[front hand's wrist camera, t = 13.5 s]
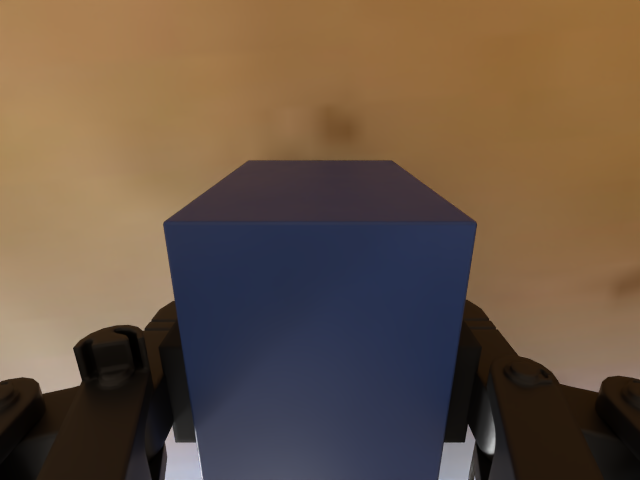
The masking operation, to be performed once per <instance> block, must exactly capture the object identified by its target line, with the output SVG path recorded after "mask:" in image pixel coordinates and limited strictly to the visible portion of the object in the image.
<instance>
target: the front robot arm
mask: <svg viewBox="0 0 640 480" xmlns="http://www.w3.org/2000/svg"><path fill="white" fill-rule="evenodd" d="M73 349H74V353H75V357H76V360H77V364H78V367H79V371H80V375H81V378H82V382H81V385H80V386H77V387H73V388H68V389H64V390H59V391H54V392H50V393H45V394H42V392H41V389H40V386H39V383H38V382H36V381H35V380H34V379H31V378H23V377H22V378H15V379H8V380H4V381H1V382H0V480H164V479H165V471H166V463H167V452H166V446H165V440H166V438H167V436H168V434H169V431H170V429H171V427H172V425H173V431H174V436H175V442H196V437H195V430H194V423H193V417H192V410H191V404H190V397H189V391H188V384H187V377H186V371H185V364H184V358H183V351H182V344H181V338H180V331H179V325H178V318H177V312H176V305H175V301H172V302H171V303H169V304H168V305H166V306H165V307H163V308H162V309H160V310H159V311H158V312H157V314H156V315H155V316H154V317H153V319H152V321H151V322H150V323H149V324H148V325H147V326H146V328H145V331H142V330H141V329H140V328H138V327H135V326H131V325H117V326H112V327H108V328H103V329H101V330H98V331H96V332H93V333H91V334H89V335H88V336H86V337H85V338H83V339H81V340H80V341H79V342H78V343H77V344H76V345H75V347H74V348H73ZM468 425H469V427H470V429H471V431H472V433H473V435H474V437H475V440H476V441H475V446H474V451H473V456H472V461H471V467H470V472H469V479H468V480H474V476H475V478H476V480H640V380H639V379H635V378H630V377H623V376H613V377H608V378H606V379H605V380H604V381H603V382H602V384H601V387H600V390H599V393H598V392H594V391H589V390H584V389H579V388H575V387H570V386H566V385H562V384H559V382H558V380H557V379H556V377H555V376H554V375H553V373H552V372H551V371H549V370H548V369H547V368H545V367H544V366H543V365H541V364H539V363H537V362H535V361H533V360H531V359H528V358H524V357H520V356H518V355H517V353H516V352H515V351H514V350H513V348H512V347H511V346H510V345H509V343H508V342H507V341H506V339H505V338H504V337H503V336H502V334H501V333H500V332H499V331H498V329H496V327H495V326H494V324H493V323H492V322H491V321H489V318H488V317H487V316H486V314H485V313H484V312H483V311H482V309H481V308H479V307H478V306H476V305H475V304H473V303H472V302H470V301H468V300H465V306H464V313H463V319H462V326H461V333H460V339H459V346H458V352H457V359H456V365H455V372H454V378H453V385H452V392H451V398H450V405H449V411H448V418H447V424H446V431H445V437H444V442H465V438H466V432H467V427H468Z"/></svg>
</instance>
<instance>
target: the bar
mask: <svg viewBox="0 0 640 480" xmlns="http://www.w3.org/2000/svg"><path fill="white" fill-rule="evenodd" d="M163 226H164V233H165V239H166V246H167V252H168V259H169V266H170V272H171V279H172V285H173V292H174V298H175V305H176V312H177V318H178V325H179V331H180V338H181V344H182V351H183V358H184V364H185V371H186V377H187V384H188V391H189V397H190V404H191V410H192V417H193V423H194V430H195V437H196V443H197V450H198V456H199V463H200V469H201V476H202V480H438V477H439V470H440V464H441V457H442V451H443V444H444V437H445V431H446V424H447V418H448V411H449V405H450V398H451V392H452V385H453V378H454V372H455V365H456V359H457V352H458V346H459V339H460V333H461V326H462V319H463V313H464V306H465V300H466V293H467V287H468V280H469V273H470V267H471V260H472V254H473V247H474V241H475V234H476V228H477V223H476V221H474V220H473V219H471V218H470V217H469V216H467V215H466V214H465V213H463V212H462V211H460V210H459V209H458V208H456V207H455V206H454V205H452V204H451V203H449V202H448V201H447V200H445V199H444V198H443V197H441V196H440V195H438V194H437V193H436V192H434V191H433V190H432V189H430V188H429V187H427V186H426V185H425V184H423V183H422V182H421V181H419V180H418V179H416V178H415V177H414V176H412V175H411V174H410V173H408V172H407V171H405V170H404V169H403V168H401V167H400V166H399V165H397V164H396V163H395V162H393V161H247V162H246V163H245V164H243V165H242V166H240V167H239V168H238V169H236V170H235V171H233V172H232V173H231V174H229V175H228V176H227V177H225V178H224V179H222V180H221V181H220V182H218V183H217V184H216V185H214V186H213V187H211V188H210V189H209V190H207V191H206V192H205V193H203V194H202V195H200V196H199V197H198V198H196V199H195V200H193V201H192V202H191V203H189V204H188V205H187V206H185V207H184V208H182V209H181V210H180V211H178V212H177V213H176V214H174V215H173V216H171V217H170V218H169V219H167V220H166V221H165V222H164V224H163Z"/></svg>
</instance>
